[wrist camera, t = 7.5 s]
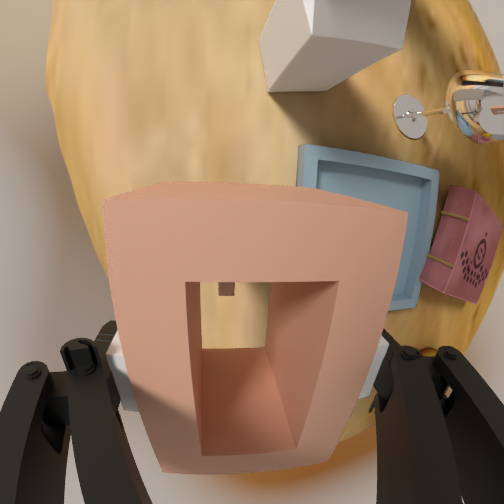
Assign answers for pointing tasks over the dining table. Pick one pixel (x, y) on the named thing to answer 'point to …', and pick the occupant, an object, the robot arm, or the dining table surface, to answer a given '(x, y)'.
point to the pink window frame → (278, 326)
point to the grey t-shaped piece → (226, 288)
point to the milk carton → (328, 40)
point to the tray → (381, 201)
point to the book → (462, 246)
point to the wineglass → (460, 108)
